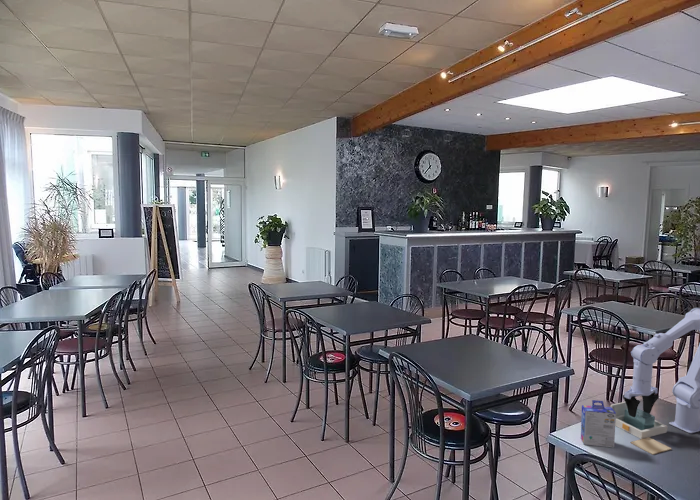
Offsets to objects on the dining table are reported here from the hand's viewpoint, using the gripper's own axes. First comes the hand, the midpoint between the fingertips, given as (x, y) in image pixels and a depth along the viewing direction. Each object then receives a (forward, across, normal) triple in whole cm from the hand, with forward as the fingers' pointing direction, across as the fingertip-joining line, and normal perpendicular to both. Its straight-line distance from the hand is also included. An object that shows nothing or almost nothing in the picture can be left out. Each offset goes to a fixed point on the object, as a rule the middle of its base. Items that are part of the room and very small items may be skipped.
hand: (639, 414), depth 171 cm
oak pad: (+5, +8, +10) cm, 14 cm away
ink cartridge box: (+6, +23, +2) cm, 24 cm away
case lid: (+5, 0, -7) cm, 8 cm away
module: (+5, 0, 0) cm, 5 cm away
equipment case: (+5, 0, 0) cm, 5 cm away
